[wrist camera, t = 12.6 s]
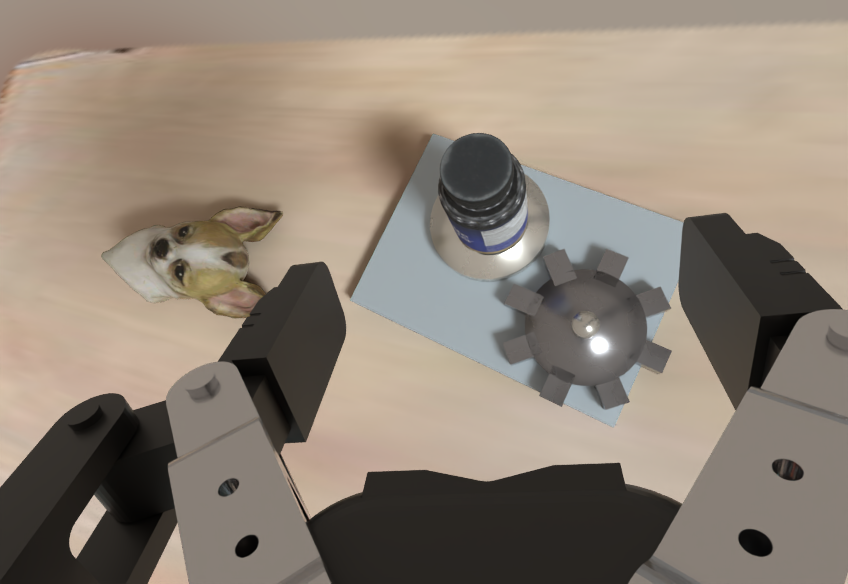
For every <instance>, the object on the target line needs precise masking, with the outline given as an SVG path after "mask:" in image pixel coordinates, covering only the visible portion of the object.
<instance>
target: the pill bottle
mask: <svg viewBox="0 0 848 584" xmlns="http://www.w3.org/2000/svg"><path fill="white" fill-rule="evenodd" d="M438 194H439V199H440V202H441V205H442V207H443V209H444V211H445V213H446V214H447V216H448V218H449V220H450V222H451V224H452V226H453V228H454V230H455V232H456V234H457V236H458V238H459V239H460V241H461V242H462V243H463V244H464V245H465V246H466V247H467V248H468V249H470V250H472V251H476V252H478V253H480V254H482V255H498V254H501V253H503V252H506V251H508V250H510V249H512V248H513V247H514V246H515V245H516V244H517V243H518V242H519V241H520V240H521V239H522V237H523V235H524V233H525V231H526V229H527V226H528V208H527V194H526V180H525V175H524V171H523V169H522V167H521V164H520V163H519V162H518V160H517V159H516V158H515V157H514V156H513V155H512V154H511V153H510V151H509V149H508V148H507V146H506V145H505V144H504V143H503V142H502V141H501V140H500V139H498V138H496V137H494V136H492V135H489V134H484V133H473V134H469V135H466V136H463V137H461V138H459V139H457V140H456V141H454V142H453V143H452V144H451V145H450V146H449V147H448V148H447V150H446V151H445V153H444V155H443V157H442V160H441V163H440V178H439V183H438Z"/></svg>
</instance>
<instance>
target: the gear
mask: <svg viewBox="0 0 848 584" xmlns="http://www.w3.org/2000/svg"><path fill="white" fill-rule="evenodd" d="M628 259H629V257H626V256H624V255H621V254H619V253H616V252H614V251H611V250H608V249H606V251H605V253H604V255H603V257H602V259H601V262H600V264H599V266H598V268H597V270H590V269H577V270H574V269H573V267H572V265H571V262H570V260H569V258H568V255H567V253H566V251H565V248H564V249H562V250H559V251H556V252H554V253H551V254H549V255H546V256H543V263H544V265H545V268H546V270H547V273H548V275H549V277H550V280H548V281H547V282H546V283H545V284H543V285H542V286H541V287H540V288H539V289H538V291H537V292H536V293H535V292H533V291H530V290H528V289H526V288H523V287H521V286H519V285H516V284H513V286H512V288H511V290H510V292H509V294H508V297H507V299H506V301H505V303H504V304H505V307H507V308H510V309H512V310H514V311H516V312H519V313H521V314H523V315H525V316H526V317H525V334H526V335H523V336H521V337H518V338H515V339H512V340H510V341H507V342H504V343H503V345H504V348H505V351H506V354H507V356H508V359H509V362H510V364H511V366H513V365H516V364H518V363H521V362H524V361H527V360H530V359H533V358H535V360H536V361H537V363H538V364H539V365H540V366H541V367H542V368H543V369H544V370H545V371H546V372H547V373H549V376H548V378H547V380H546V382H545V384H544V387H543V389H542V391H541V393H540V395H539V396H541V397H543V398H545V399H547V400H549V401H551V402H553V403H555V404H557V405H559V406H561V407H562V405H563V403H564V400H565V398H566V396H567V394H568V392H569V389H570V387H571V385H578V386H594V387H595V390H596V392H597V395H598V397H599V399H600V402H601V404H602V407H603V409H604V410H607V409H610V408H613V407H616V406H619V405H622V404H625V403H629V402H630V401H629V399H628V397H627V394H626V392H625V390H624V387H623V385H622V382H621V380H620V378H619V377H620V376H622V375H624V374H625V373H626V372H627V371H629V370H630V369H631V368H632V367H633V366H634V364H636V365H638V366H641V367H643V368H645V369H648V370H650V371H652V372H654V373H657V374H660V373H662V372H663V370H664V367H665V365H666V363H667V361H668V358H669V356H670V354H671V350H669V349H666V348H664V347H662V346H659V345H657V344H655V343H652V342H650V341H648V340H646V338H647V320H646V319H647V318H650V317H652V316H655V315H658V314H661V313H664V312H667V311H668V310H669V309H671V307H670V305H669V303H668V301H667V299H666V297H665V294H664V292H663V290H662V288H661V286H660V287H658V288H655V289H652V290H649V291H646V292H644V293H641V294H638V295H635V293H634V292H633V291H632V290H631V289H630V288H629V287H628V286H627V285H626V284H625V283H623V282H622V281H621V280H619V279H620V276H621V274H622V272H623V270H624V267H625V265H626V263H627V261H628Z"/></svg>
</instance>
